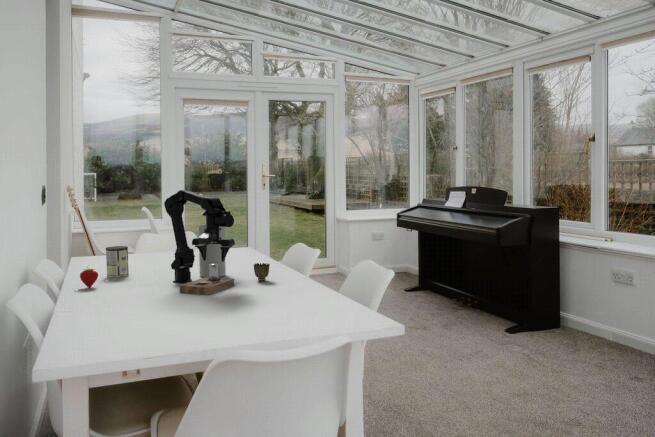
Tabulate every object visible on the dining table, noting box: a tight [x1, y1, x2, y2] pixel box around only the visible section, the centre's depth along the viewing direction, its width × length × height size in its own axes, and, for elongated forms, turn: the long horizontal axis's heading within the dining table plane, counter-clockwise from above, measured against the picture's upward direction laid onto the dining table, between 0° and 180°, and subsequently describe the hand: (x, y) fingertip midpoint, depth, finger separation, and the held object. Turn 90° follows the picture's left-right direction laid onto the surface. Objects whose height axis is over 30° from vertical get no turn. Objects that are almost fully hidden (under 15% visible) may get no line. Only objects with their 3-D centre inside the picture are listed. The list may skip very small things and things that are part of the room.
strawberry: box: [79, 265, 99, 288], centre depth 241 cm, size 6×8×10 cm
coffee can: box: [105, 245, 129, 278], centre depth 271 cm, size 10×10×14 cm
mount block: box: [179, 277, 235, 296], centre depth 238 cm, size 14×21×3 cm, turn 160°
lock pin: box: [209, 264, 219, 281], centre depth 243 cm, size 4×4×10 cm
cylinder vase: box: [198, 223, 227, 278], centre depth 269 cm, size 12×12×25 cm
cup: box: [253, 262, 270, 282], centre depth 256 cm, size 8×7×8 cm
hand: (213, 261), depth 242 cm, fingers open, 9 cm apart
